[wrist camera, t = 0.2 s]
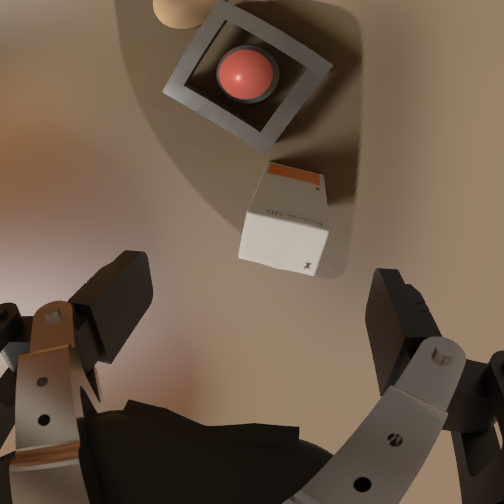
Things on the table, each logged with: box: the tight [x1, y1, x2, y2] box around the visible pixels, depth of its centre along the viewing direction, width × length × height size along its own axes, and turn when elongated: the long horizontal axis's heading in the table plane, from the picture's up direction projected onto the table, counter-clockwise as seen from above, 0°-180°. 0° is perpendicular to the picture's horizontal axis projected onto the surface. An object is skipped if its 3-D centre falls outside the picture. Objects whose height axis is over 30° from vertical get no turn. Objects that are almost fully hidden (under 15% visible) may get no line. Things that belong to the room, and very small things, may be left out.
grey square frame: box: [163, 0, 333, 155], centre depth 25 cm, size 10×11×4 cm
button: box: [217, 45, 279, 103], centre depth 24 cm, size 6×6×1 cm
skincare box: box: [238, 162, 330, 276], centre depth 27 cm, size 6×4×12 cm
